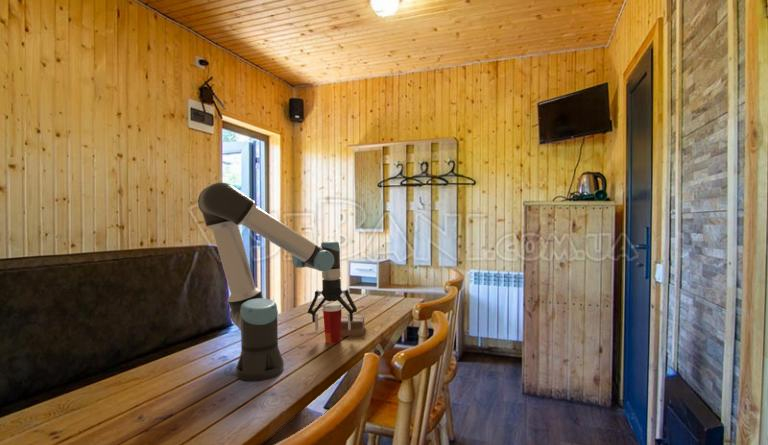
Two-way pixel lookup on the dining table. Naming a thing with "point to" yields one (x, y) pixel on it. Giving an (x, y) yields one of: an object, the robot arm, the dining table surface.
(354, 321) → the riser
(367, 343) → the dining table surface
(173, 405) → the dining table surface
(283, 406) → the dining table surface
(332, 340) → the coffee cup
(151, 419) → the dining table surface
